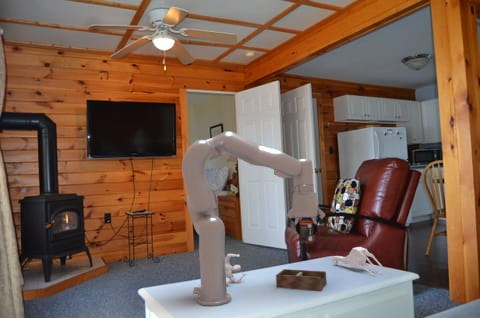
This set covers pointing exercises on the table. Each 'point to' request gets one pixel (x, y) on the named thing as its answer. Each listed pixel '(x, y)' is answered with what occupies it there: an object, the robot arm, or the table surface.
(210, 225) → the robot arm
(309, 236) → the supplement bottle
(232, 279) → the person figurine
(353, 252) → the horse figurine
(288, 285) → the brown wooden box
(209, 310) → the table surface
